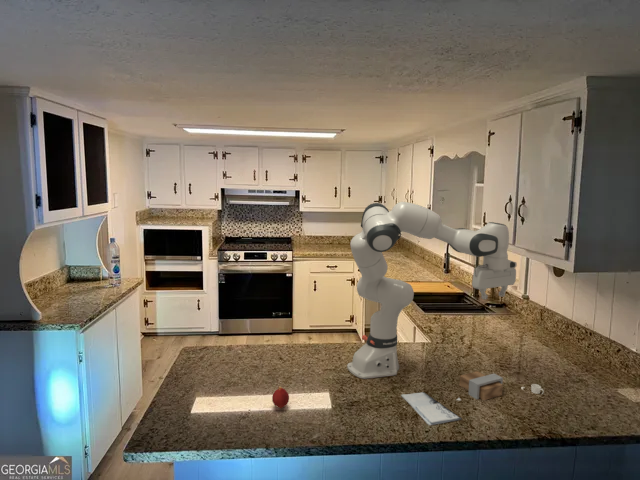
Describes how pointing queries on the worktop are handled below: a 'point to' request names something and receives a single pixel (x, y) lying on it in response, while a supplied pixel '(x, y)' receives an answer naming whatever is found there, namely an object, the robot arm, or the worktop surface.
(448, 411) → the bicycle print towel
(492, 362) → the worktop surface
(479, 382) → the tunnel
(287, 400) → the onion
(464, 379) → the wood grain block
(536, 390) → the white ring-shaped piece
